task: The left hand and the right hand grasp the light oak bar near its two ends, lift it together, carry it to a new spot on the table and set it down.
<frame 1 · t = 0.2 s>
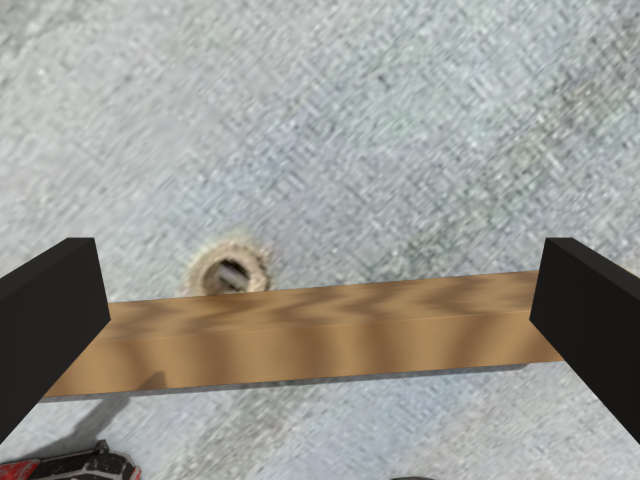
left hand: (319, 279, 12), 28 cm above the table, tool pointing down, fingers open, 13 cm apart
bar: (229, 316, 45), on the table
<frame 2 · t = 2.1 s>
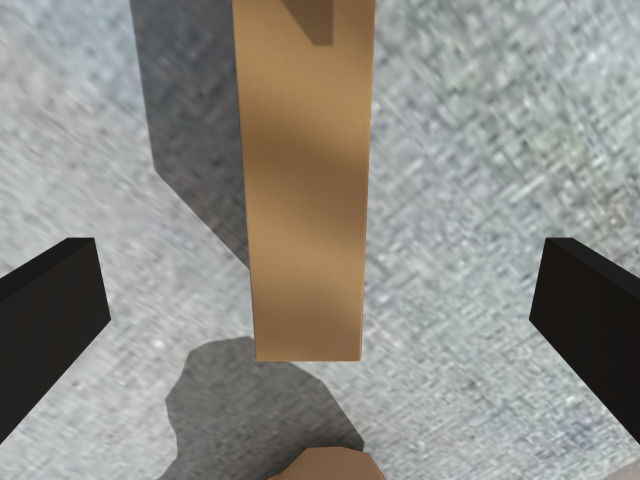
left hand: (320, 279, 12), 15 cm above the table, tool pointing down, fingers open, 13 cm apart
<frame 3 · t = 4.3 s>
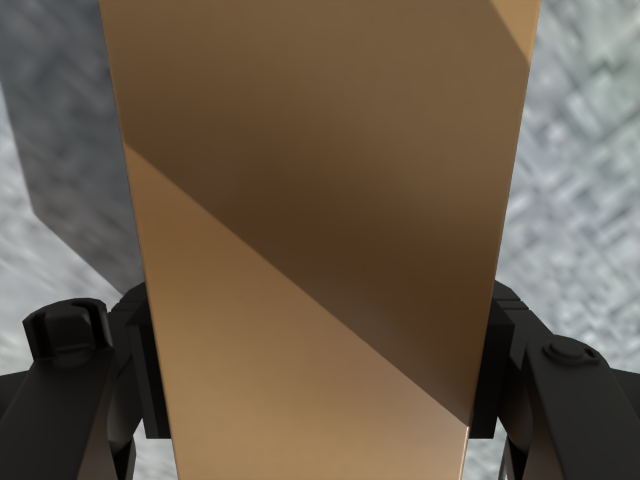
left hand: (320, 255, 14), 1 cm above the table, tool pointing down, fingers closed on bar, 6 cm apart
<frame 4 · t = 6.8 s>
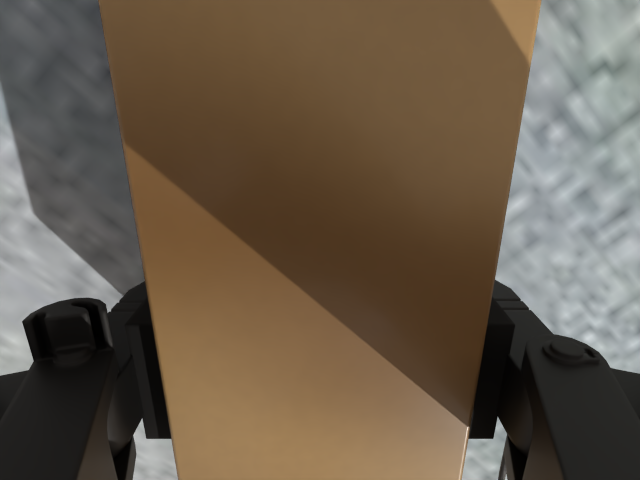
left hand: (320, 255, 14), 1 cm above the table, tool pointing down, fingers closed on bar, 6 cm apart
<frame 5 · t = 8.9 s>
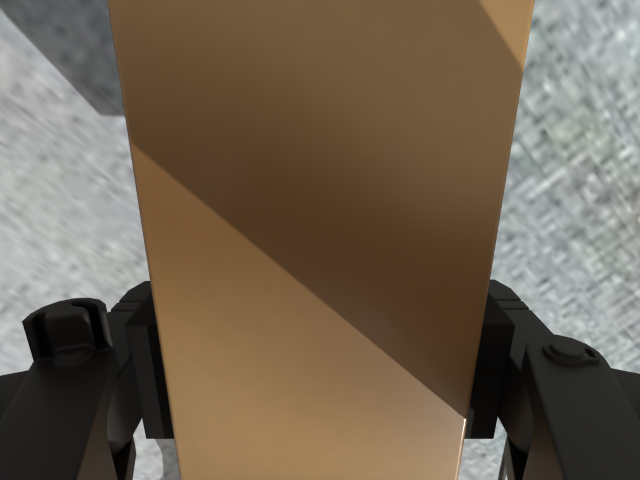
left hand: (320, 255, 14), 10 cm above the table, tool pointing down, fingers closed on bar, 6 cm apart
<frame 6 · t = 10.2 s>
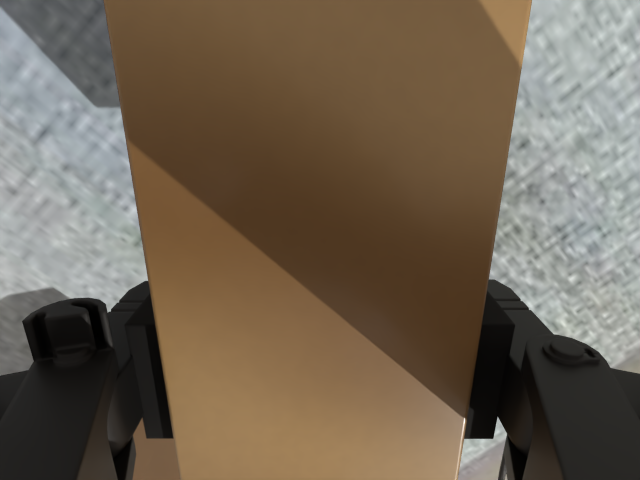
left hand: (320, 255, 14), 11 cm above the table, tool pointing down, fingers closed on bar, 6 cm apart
squash: (134, 475, 32), on the table
when the left hand's fingers open (2 cm above the table, at t = 13.5 s): bar stays where it is, held by the right hand.
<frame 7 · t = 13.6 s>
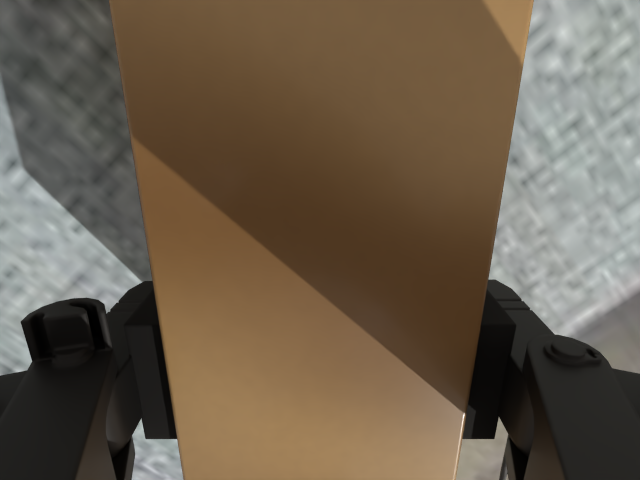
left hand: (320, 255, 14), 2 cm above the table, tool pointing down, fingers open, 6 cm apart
when the right hand's fingers open (4 cm above the table, at t = 13.8 s): bar stays where it is, on the table.
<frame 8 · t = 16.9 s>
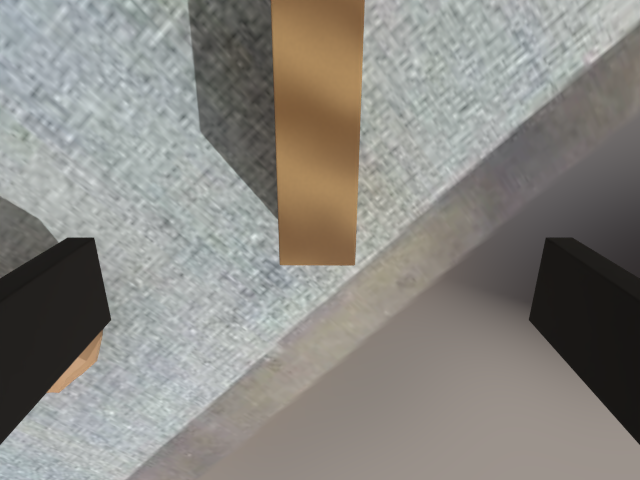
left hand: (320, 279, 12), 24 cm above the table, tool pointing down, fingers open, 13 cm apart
squash: (39, 334, 42), on the table
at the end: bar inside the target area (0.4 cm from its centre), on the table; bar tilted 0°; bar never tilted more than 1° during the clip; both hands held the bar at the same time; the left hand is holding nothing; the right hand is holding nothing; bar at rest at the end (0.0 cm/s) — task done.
